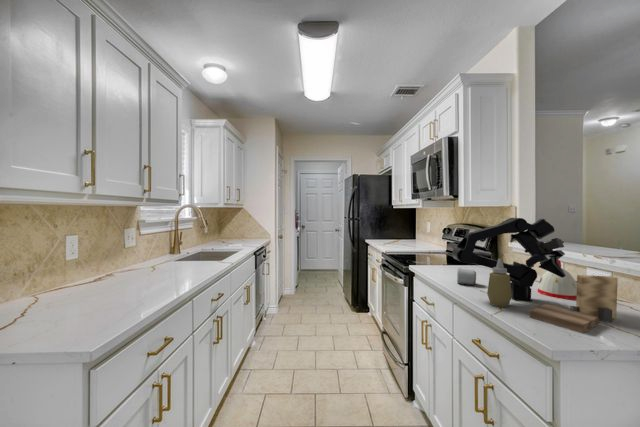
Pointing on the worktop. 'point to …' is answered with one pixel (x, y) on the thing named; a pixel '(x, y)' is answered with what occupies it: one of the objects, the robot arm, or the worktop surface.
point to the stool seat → (565, 318)
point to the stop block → (605, 314)
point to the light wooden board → (596, 294)
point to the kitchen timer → (558, 285)
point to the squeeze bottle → (499, 286)
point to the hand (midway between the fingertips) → (564, 276)
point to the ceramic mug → (466, 276)
